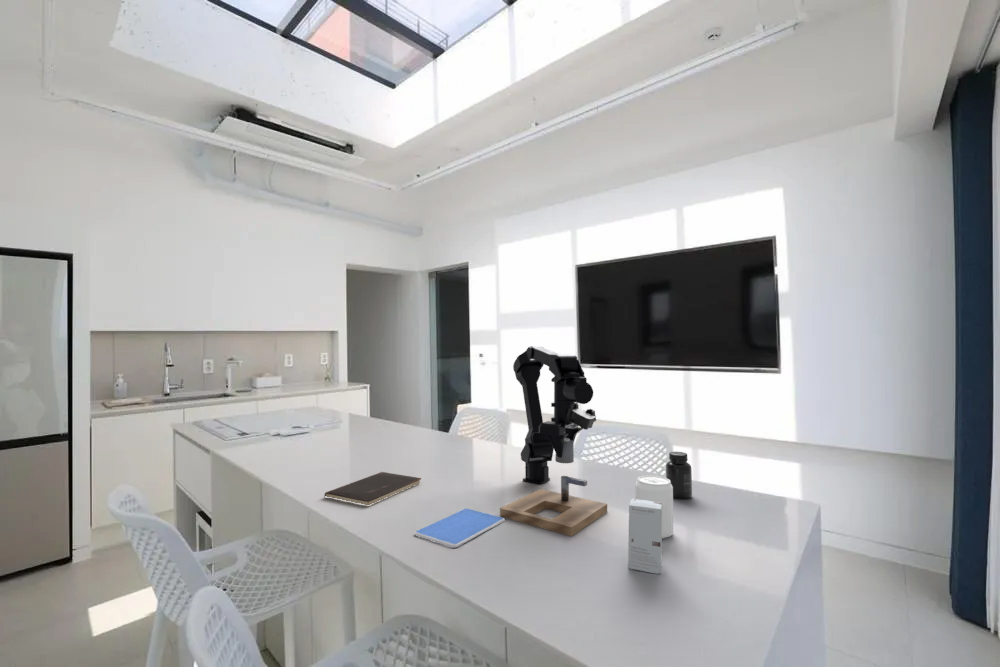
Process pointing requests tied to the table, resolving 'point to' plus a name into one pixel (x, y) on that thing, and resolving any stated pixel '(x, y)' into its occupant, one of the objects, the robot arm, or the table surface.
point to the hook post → (565, 486)
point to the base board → (568, 522)
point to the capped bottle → (566, 452)
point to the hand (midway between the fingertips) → (564, 455)
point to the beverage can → (658, 498)
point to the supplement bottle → (679, 475)
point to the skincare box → (645, 536)
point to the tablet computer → (459, 527)
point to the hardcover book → (373, 488)
